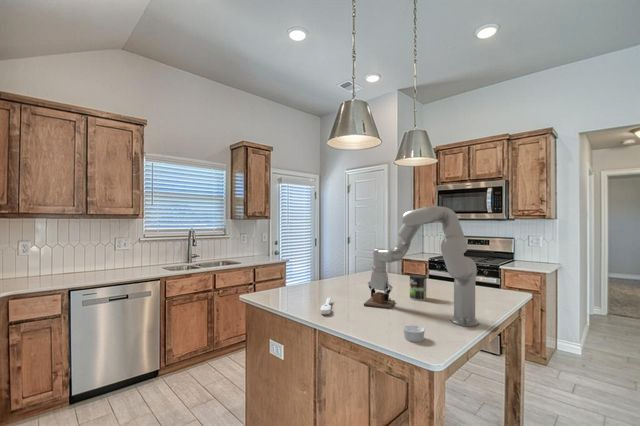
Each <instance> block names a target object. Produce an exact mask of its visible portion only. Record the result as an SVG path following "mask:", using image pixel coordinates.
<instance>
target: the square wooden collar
mask: <svg viewBox="0 0 640 426" xmlns="http://www.w3.org/2000/svg"><path fill="white" fill-rule="evenodd" d="M378 292H379V291H377V292H375V293H373V302H374V303H378V304H383V303H387V301H384V294H385V292H381V291H380V292H381V295H380V294H378Z"/></svg>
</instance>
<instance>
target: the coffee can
mask: <svg viewBox="0 0 640 426" xmlns="http://www.w3.org/2000/svg"><path fill="white" fill-rule="evenodd" d="M409 299H410V300H413V301H426V300H427V275H424V274H414V273H413V274H410V275H409Z"/></svg>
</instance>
